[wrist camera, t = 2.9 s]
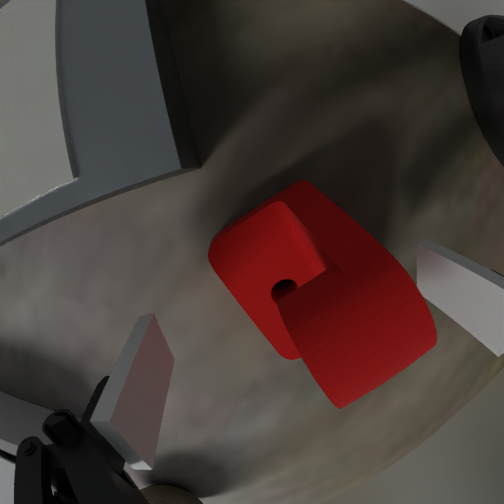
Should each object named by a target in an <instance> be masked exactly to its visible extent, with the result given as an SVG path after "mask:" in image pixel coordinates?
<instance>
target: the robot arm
mask: <svg viewBox="0 0 504 504" xmlns="http://www.w3.org/2000/svg"><path fill="white" fill-rule="evenodd" d="M460 55H461V64H462V70H463V75H464V79H465V83H466V87H467V91H468V94H469V98H470V101H471V104H472V107H473V110H474V112H475V115H476V118H477V120H478V123H479V125H480V127H481V130H482V132H483V134H484V136H485V138H486V140H487V142H488V144H489V146H490V148H491V149H492V151H493V153H494V154H495V156H496V157H497V159H498V160H499V161H500V162H501V164H502V165H503V166H504V16H499V15H488V16H483V17H481V18H478V19H476V20H473V21H471V22H469V23H468V24H467V25H466V26H465V28H464V29H463V32H462V35H461V41H460ZM416 253H417V288H418V289H419V291H420V293H421V294H422V296H423V297H425V298H426V299H427V300H429V301H430V302H431V303H433V304H434V305H435V306H437V307H438V308H439V309H440V310H442V311H443V312H444V313H446V314H447V315H448V316H449V317H451V318H452V319H453V320H455V321H456V322H457V323H458V324H460V325H461V326H462V327H463V328H465V329H466V330H467V331H468V332H469V333H471V334H472V335H473V336H474V337H476V338H477V339H478V340H479V341H480V342H482V343H483V344H484V345H485V346H486V347H487V348H489V349H490V350H491V351H492V352H493V353H494V354H496V355H497V356H498V357H499V356H500V355H502V354H503V353H504V276H503V275H502V276H501V274H499V273H498V272H496V271H494V270H490V269H488V268H486V267H484V266H482V265H480V264H478V263H476V262H474V261H472V260H470V259H468V258H465V257H463V256H461V255H459V254H457V253H455V252H453V251H451V250H449V249H446V248H444V247H442V246H440V245H438V244H435V243H433V242H431V241H429V240H425V241H422V242H419V243H416ZM174 361H175V359H174V357H173V355H172V353H171V351H170V349H169V347H168V344H167V342H166V340H165V338H164V336H163V333H162V331H161V329H160V327H159V324H158V322H157V320H156V317H155V315H154V314H150V315H145V316H141V317H139V319H138V321H137V323H136V325H135V327H134V329H133V330H132V332H131V334H130V336H129V338H128V340H127V342H126V344H125V346H124V348H123V350H122V352H121V354H120V356H119V358H118V360H117V362H116V364H115V367H114V369H113V371H112V373H111V375H110V376H105V377H104V378H103V379H102V380H101V382H100V383H99V384H98V385H97V387H96V389H95V391H94V393H93V394H94V395H92V397H91V399H90V403H88V406H87V408H86V410H85V412H84V414H83V416H82V419H81V421H80V422H79V421H78V420H77V419H76V417H75V416H74V415H73V414H72V412H71V411H70V410H67V409H59V410H57V411H54V412H53V413H51V414H50V415H49V416H48V417H47V418H46V419H45V421H44V423H43V425H42V431H43V432H44V434H45V435H46V436H47V437H48V438H49V439H50V440H51V441H52V442H53V444H48V445H45V444H44V443H43V442H42V441H41V440H40V439H39V438H38V437H36V436H30V437H28V438H25V439H24V440H22V442H21V443H20V445H19V446H18V449H17V453H16V463H15V480H14V504H150V503H149V502H148V501H147V499H146V498H145V497H144V495H143V494H142V493H141V491H140V490H139V489H138V487H137V486H136V484H135V483H134V482H133V480H132V479H131V477H130V476H129V474H128V473H127V472H126V471H125V470H124V469H123V468H124V464H125V461H126V462H127V463H128V464H129V465H130V466H131V467H132V468H133V469H137V470H153V465H154V459H155V453H156V448H157V442H158V437H159V432H160V427H161V421H162V416H163V411H164V407H165V402H166V397H167V392H168V388H169V383H170V378H171V374H172V370H173V365H174ZM52 489H53V490H54V496H53V493H52Z"/></svg>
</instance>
